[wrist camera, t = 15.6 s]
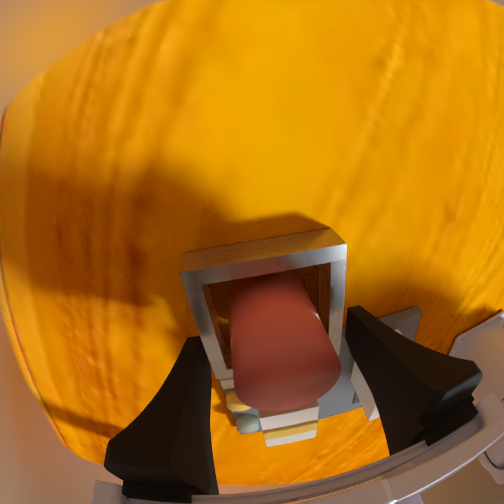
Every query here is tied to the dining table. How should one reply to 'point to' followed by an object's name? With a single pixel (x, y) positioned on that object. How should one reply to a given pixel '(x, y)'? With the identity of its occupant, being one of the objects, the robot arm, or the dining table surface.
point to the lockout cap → (278, 343)
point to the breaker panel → (340, 394)
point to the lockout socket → (259, 263)
